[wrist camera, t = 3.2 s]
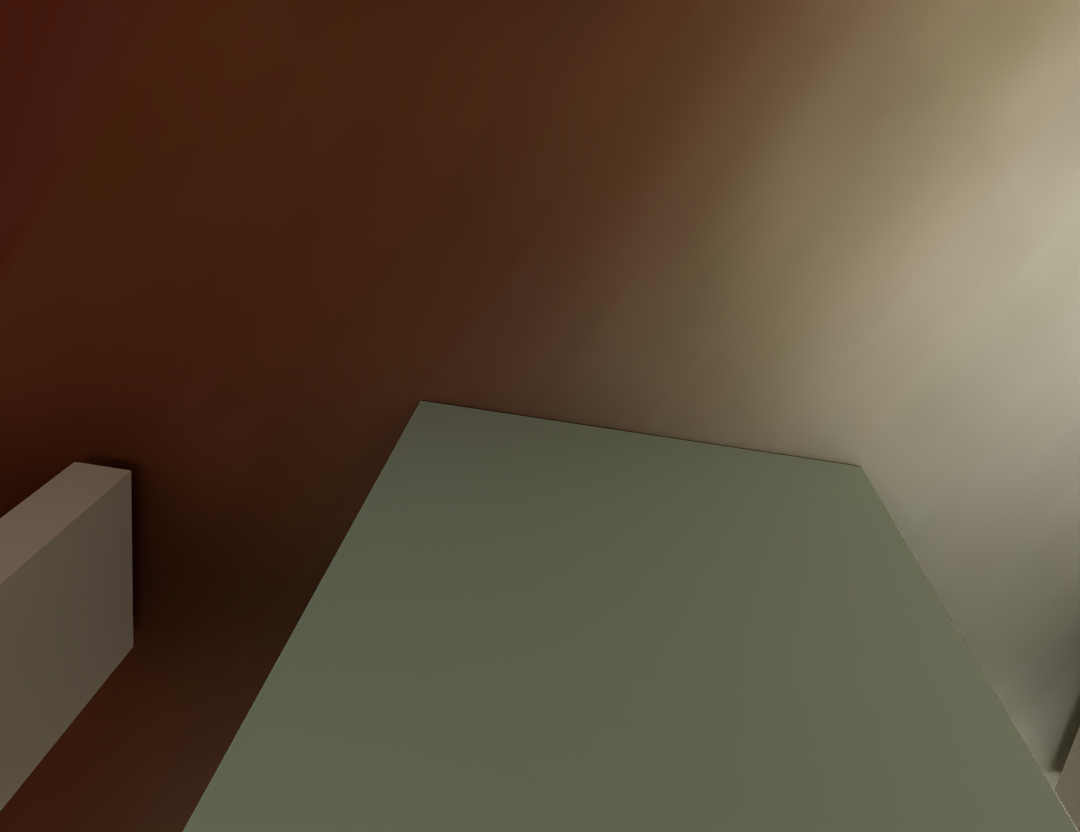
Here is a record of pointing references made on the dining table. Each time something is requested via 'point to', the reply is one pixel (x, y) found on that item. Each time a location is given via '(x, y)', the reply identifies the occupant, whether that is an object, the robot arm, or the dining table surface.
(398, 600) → the grey-green block
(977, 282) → the dining table surface
